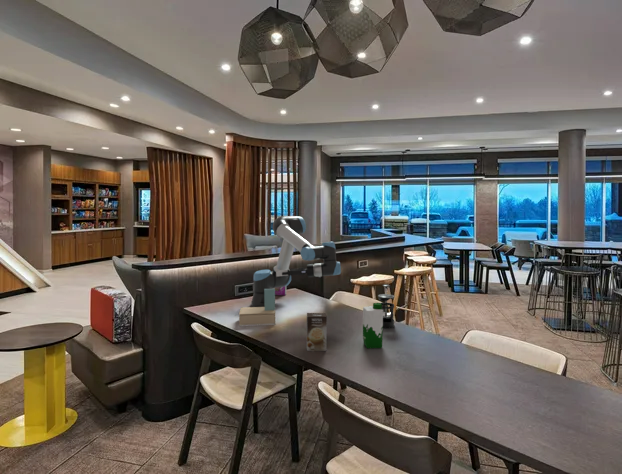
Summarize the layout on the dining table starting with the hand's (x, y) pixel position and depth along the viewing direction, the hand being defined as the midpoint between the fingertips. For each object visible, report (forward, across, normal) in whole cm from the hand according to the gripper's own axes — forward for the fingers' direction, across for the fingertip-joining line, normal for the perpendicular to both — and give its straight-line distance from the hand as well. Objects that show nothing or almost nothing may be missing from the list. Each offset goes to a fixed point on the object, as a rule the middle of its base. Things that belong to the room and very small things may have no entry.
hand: (277, 273), depth 212 cm
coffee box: (-20, -41, -34) cm, 57 cm away
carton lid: (+13, -1, -21) cm, 24 cm away
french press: (-58, -6, -34) cm, 68 cm away
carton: (+14, -1, -27) cm, 30 cm away
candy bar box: (+9, +69, -20) cm, 72 cm away
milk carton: (-47, -37, -36) cm, 70 cm away
